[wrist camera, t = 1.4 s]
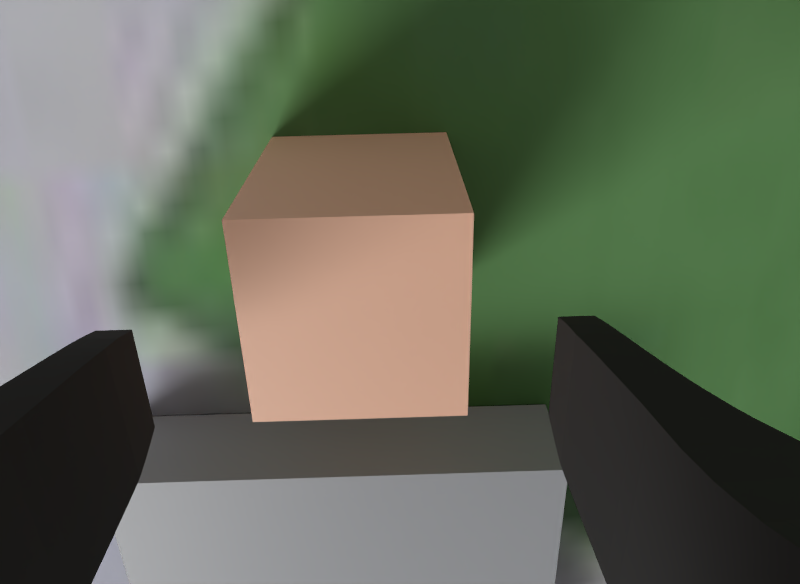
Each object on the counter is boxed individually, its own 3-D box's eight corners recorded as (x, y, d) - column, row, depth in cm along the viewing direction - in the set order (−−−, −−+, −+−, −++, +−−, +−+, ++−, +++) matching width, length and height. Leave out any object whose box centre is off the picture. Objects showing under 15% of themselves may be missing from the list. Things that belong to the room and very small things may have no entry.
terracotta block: (445, 131, 17) (474, 213, 12) (444, 286, 19) (467, 415, 14) (272, 136, 17) (222, 220, 12) (289, 291, 19) (252, 422, 14)
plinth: (545, 404, 21) (568, 469, 19) (523, 631, 26) (539, 708, 24) (135, 417, 21) (99, 484, 18) (192, 642, 26) (170, 721, 23)
